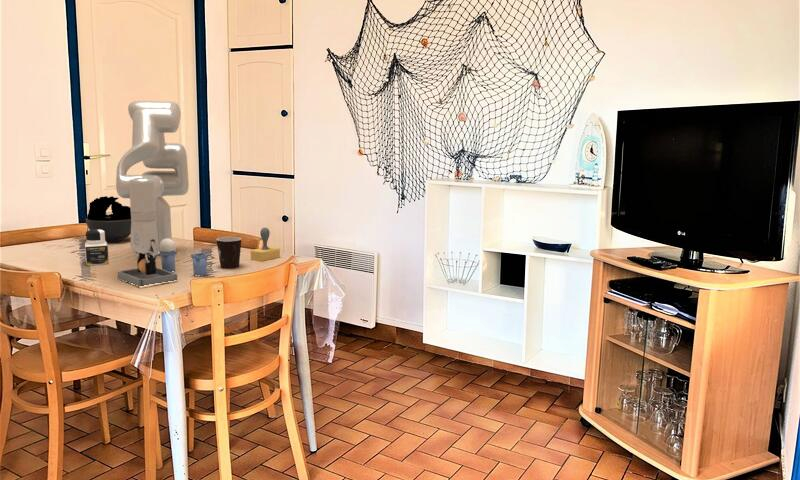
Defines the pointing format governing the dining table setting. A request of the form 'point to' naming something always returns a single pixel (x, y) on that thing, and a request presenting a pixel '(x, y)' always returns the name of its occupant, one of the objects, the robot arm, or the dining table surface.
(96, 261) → the medicine bottle
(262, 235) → the rubber stamp
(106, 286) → the dining table surface
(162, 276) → the tray
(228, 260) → the coffee mug
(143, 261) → the ball
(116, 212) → the coal bowl
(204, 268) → the cup
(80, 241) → the dining table surface
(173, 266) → the cup
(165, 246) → the ball
